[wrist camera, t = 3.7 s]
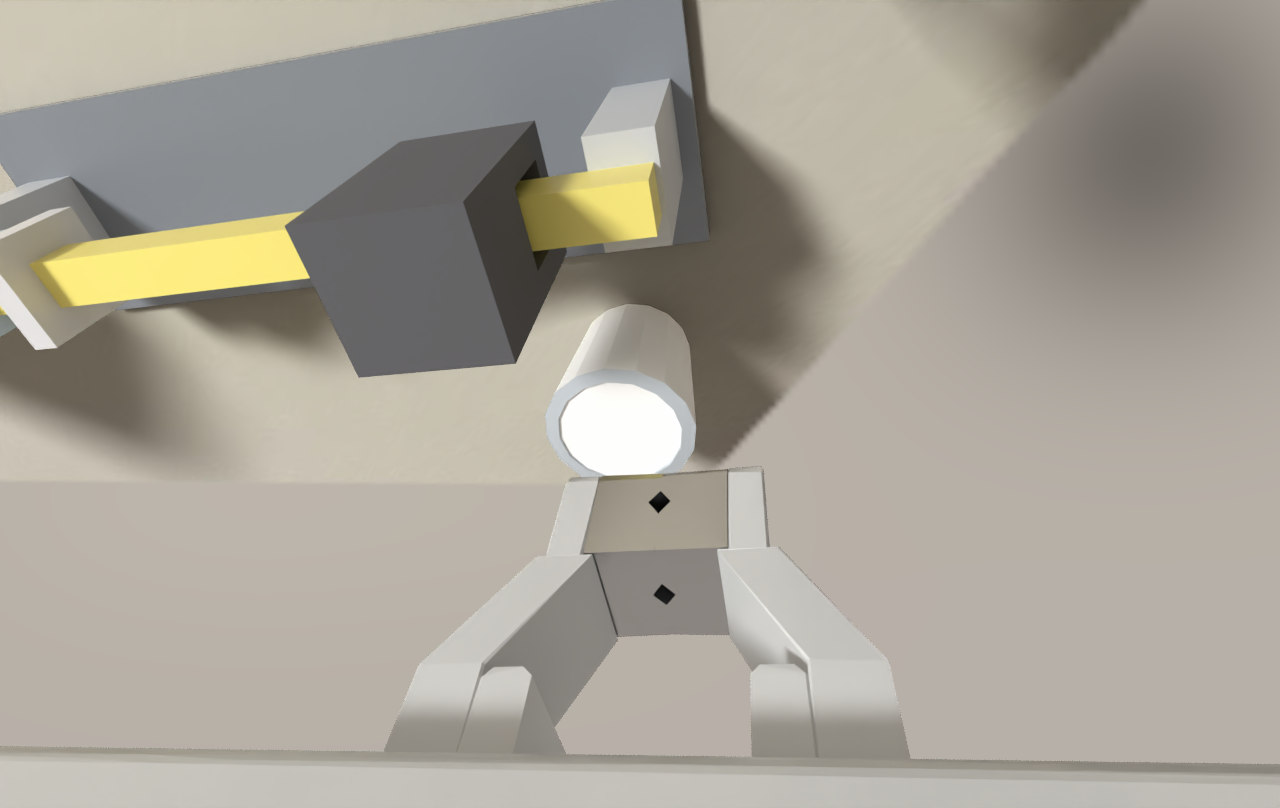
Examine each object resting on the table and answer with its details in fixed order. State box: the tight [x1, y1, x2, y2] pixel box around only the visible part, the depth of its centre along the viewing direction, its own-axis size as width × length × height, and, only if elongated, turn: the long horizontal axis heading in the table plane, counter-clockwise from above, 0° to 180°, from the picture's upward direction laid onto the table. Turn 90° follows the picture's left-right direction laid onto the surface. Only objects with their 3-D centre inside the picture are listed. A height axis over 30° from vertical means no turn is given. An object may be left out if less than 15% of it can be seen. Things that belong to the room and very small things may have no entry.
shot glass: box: [545, 304, 696, 477], centre depth 33 cm, size 7×7×7 cm
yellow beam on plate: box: [0, 0, 709, 350], centre depth 27 cm, size 33×10×11 cm, turn 100°
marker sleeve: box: [285, 120, 567, 377], centre depth 22 cm, size 5×5×8 cm
